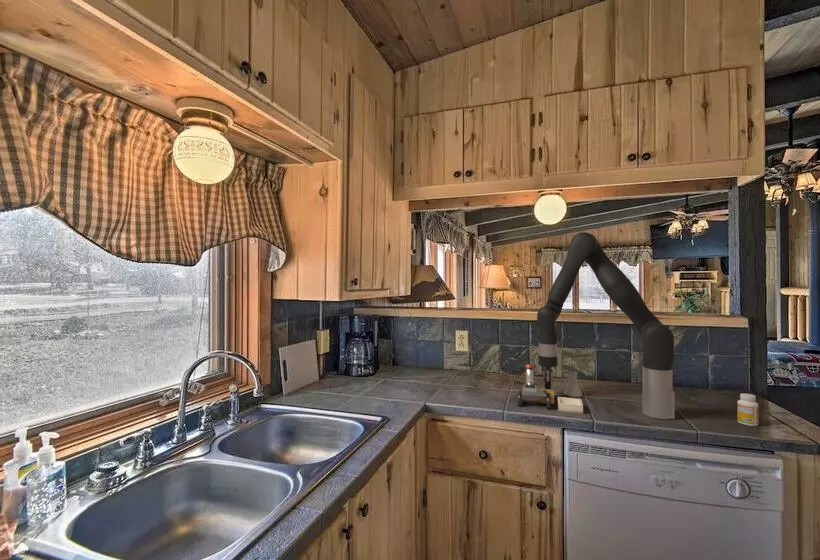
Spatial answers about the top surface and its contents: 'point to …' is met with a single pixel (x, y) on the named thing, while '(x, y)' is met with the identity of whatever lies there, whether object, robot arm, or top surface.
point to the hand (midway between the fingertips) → (547, 395)
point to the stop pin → (529, 375)
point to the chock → (543, 398)
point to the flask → (573, 386)
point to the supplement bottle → (747, 410)
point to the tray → (570, 405)
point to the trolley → (534, 392)
